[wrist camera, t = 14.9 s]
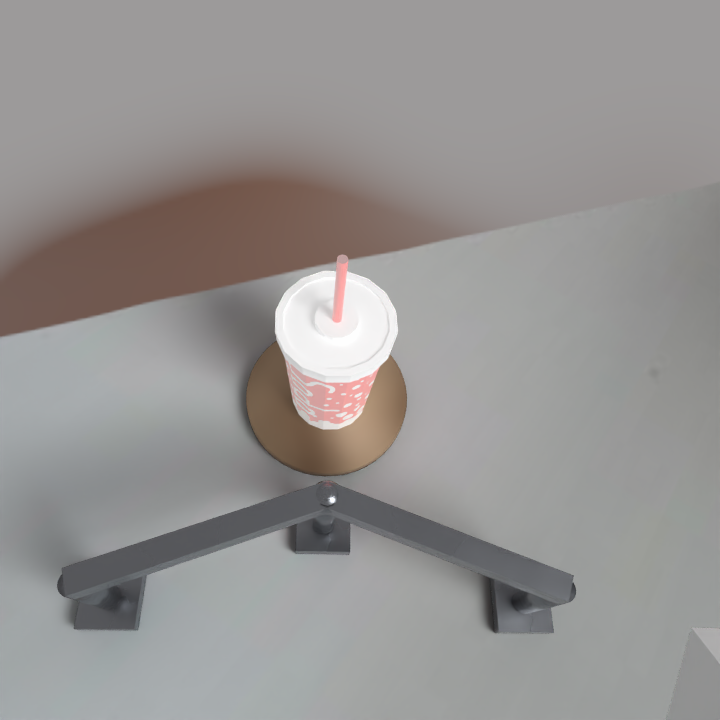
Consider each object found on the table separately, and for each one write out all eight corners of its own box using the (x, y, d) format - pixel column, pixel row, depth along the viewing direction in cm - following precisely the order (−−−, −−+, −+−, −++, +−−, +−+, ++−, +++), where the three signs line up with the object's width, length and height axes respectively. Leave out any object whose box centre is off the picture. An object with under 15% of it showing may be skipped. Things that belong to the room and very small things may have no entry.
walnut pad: (402, 334, 41) (404, 328, 41) (407, 478, 37) (409, 474, 36) (254, 328, 41) (253, 321, 40) (240, 474, 36) (239, 469, 35)
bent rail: (532, 505, 37) (582, 468, 30) (548, 633, 33) (608, 623, 27) (105, 496, 35) (58, 454, 28) (78, 630, 32) (19, 618, 25)
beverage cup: (261, 383, 38) (241, 241, 26) (340, 336, 40) (358, 183, 28) (316, 461, 36) (324, 348, 24) (398, 407, 38) (444, 276, 26)
